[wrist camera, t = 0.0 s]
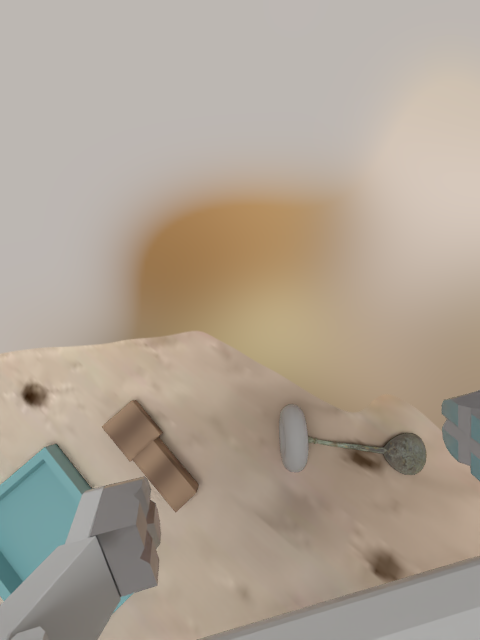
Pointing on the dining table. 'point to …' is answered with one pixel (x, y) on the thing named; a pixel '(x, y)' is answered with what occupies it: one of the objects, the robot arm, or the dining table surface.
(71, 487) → the serving bin
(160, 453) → the stepped brown block
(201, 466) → the dining table surface
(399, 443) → the soupspoon
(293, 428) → the donut
